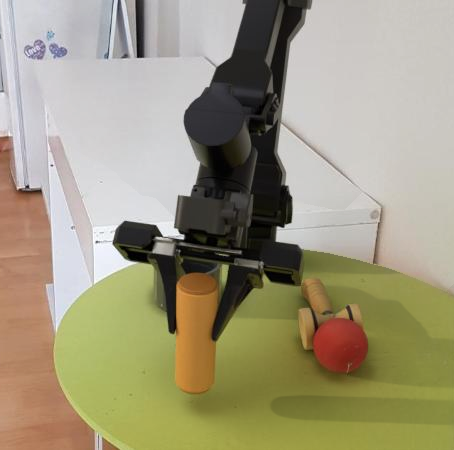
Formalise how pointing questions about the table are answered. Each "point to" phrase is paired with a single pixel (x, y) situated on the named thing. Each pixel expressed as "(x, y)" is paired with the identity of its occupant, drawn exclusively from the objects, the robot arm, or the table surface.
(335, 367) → the kendama
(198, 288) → the orange tall cylinder
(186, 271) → the pot
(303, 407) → the table surface
